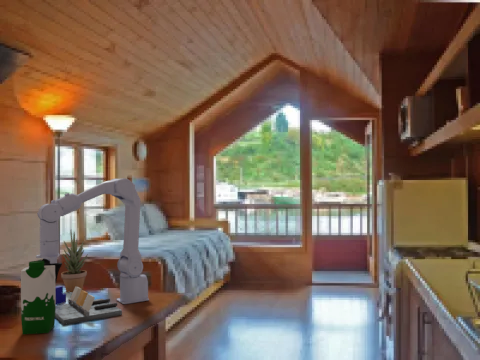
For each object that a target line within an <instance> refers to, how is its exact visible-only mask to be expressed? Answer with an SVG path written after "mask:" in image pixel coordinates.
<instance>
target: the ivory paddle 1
mask: <svg viewBox="0 0 480 360" xmlns="http://www.w3.org/2000/svg"><path fill="white" fill-rule="evenodd" d="M81 290H83V289H81V288H79V287H76V286H75V289H74V291H73V292H71V293H72V294H71V296H70V298H69V299H71V300H72V301H74V302H76V301H77V299H78V297H79V295H80V292H81Z"/></svg>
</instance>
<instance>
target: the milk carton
mask: <svg viewBox="0 0 480 360" xmlns="http://www.w3.org/2000/svg"><path fill="white" fill-rule="evenodd" d="M55 279H56V277H55V265H50V266H44V261H38V260H31V261H29V262H28V266H27V267H24V268H23V269H21V270H20V317H21V318H20V320H21V331H22V335H35V334H49V333H50V332H51V330H52V329H53V328H54V327H55V322H56V320H55V319H56V317H55V310H56V291H55V287H56V285H55Z"/></svg>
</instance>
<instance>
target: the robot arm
mask: <svg viewBox="0 0 480 360" xmlns="http://www.w3.org/2000/svg"><path fill="white" fill-rule="evenodd" d="M103 195H111V196H112V197H114V198H117V199H118V200H119V201H120V202H122V203H123V204H124V206H125V207H124V208H125V209H124V224H123V225H124V226H123V228H124V229H123V245H122V250H121V252H120V256H119V259H118V260H117V264H116V265H117V269H118V271H119V272H120V274H119V297H118V298H115V300H116V301H118V302H119V303H121V304H123V305H129V304H134V303H140V302H145V301H146V302H148V301H149V300H150V299H149V281H148V277H147V275H146V274H142V272H143V269H144V264H143V261H142V254H141V251H140V250H139V240H140V238H139V237H140V219H141V218H140V217H141V198H140V196H139V194H138V192H137V189H136V184H135V183H134V182H132V181H131V180H130V179H128V178H127V177H126V178H125V177H124V178H123V177H122V178H112V179H110V180H106V181H103V182H100V183H98V184H97V185H94V186H92V187H90V188H88V189H86V190H84V191H82V192H80V193H79V194H76V193H73V192H71V193H69V192H67V193H65V194H64V196H62V197H60V198H57V199H56V200H55V199H52V200H51V201H50V203H45V204H42V205H41V206H40V208H39V209H38V211H37V218H38V219H39V254H37V255H35V258H37V259H38V260H37V261H44V266H50V265H55V277H56V279H55V286H56V284H57V280H58V276H59V272H60V269H61V267H62V266H63V263H62V262H58V258H59V257H60V238H59V237H60V235H59V234H60V232H59V231H60V230H59V228H60V226H59V220H60V218H61V217H64V216H67V215H68V214H71V213H72V212H75V211H78V210H79V209H81V206H82V204H83V203H85V202H88V201H90V200H93V199H95V198H97V197H99V196H103Z"/></svg>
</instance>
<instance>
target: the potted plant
mask: <svg viewBox="0 0 480 360" xmlns="http://www.w3.org/2000/svg"><path fill="white" fill-rule="evenodd" d="M69 234H70V245H71V246H70V247H69V246H68V244H67V243H66V240H63V243H64V246H65V248H66V250H67V251H66V250H65V249H63V251H64V253H62V255H63V258H64V259H65V261H64V264H65V265H64V267H65V268H66V270H67V271H63V272H61V273H60V278H61V279H62V281H63V283H64V288H65V291H66V293H73V291H74V289H75V286H76V287H79V288H81V289H82V290H83V288H84V284H85V280H86V276H87V275H88V273H87V270H82V268H83V267H84V264H85V263H86V261H85V260H86V258H87V257H88V255H89V254H88V253H87V254H86V255H85V257H83V254H84V252H85V249H84V242H85V241H82V243H81V245H80V247H79V248H78V239H76V232H75V231H73V233H72V230H70V233H69ZM82 257H83V258H82Z"/></svg>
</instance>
